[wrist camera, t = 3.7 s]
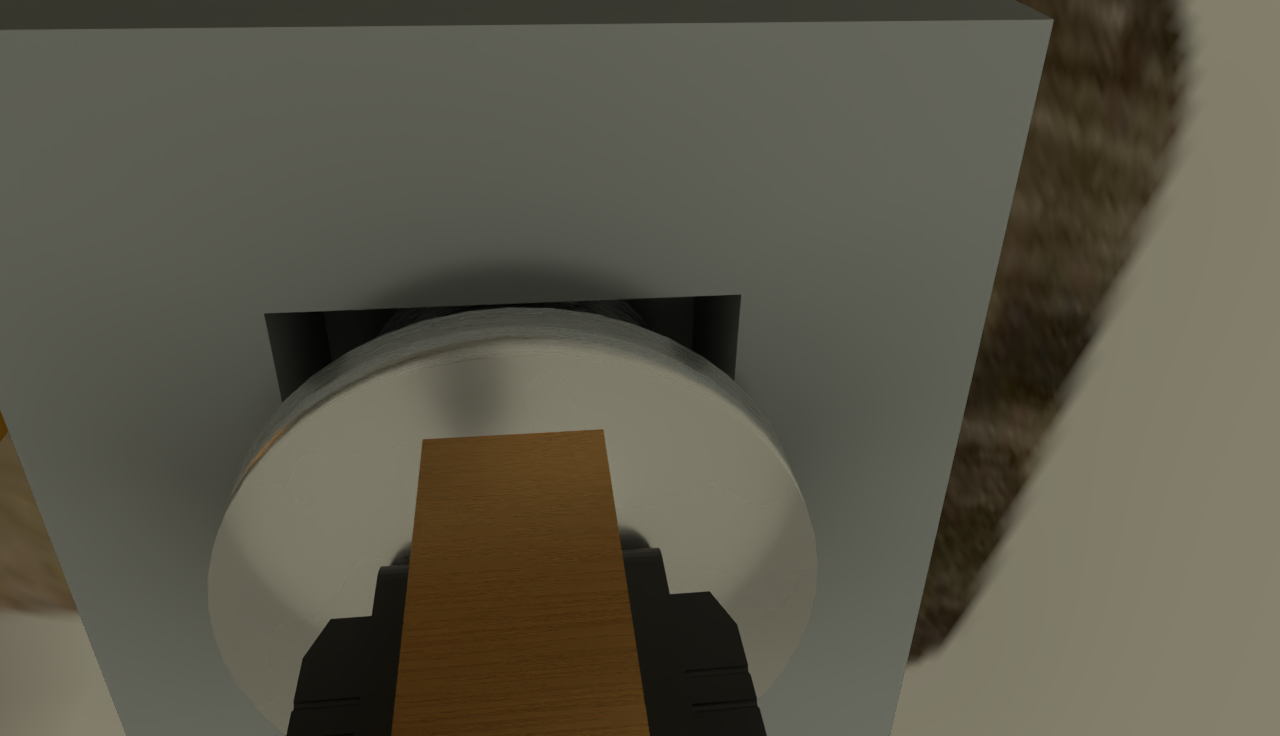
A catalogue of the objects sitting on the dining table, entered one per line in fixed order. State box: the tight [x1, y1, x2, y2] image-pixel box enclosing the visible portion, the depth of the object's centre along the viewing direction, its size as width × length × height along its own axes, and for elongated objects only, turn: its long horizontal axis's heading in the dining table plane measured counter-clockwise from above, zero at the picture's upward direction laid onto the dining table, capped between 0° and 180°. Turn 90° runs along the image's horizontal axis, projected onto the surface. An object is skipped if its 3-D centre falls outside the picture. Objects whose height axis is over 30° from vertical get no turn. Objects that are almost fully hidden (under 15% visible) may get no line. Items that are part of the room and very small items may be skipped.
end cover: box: [208, 299, 818, 736], centre depth 11 cm, size 7×7×9 cm
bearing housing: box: [0, 0, 1054, 736], centre depth 17 cm, size 12×12×8 cm
